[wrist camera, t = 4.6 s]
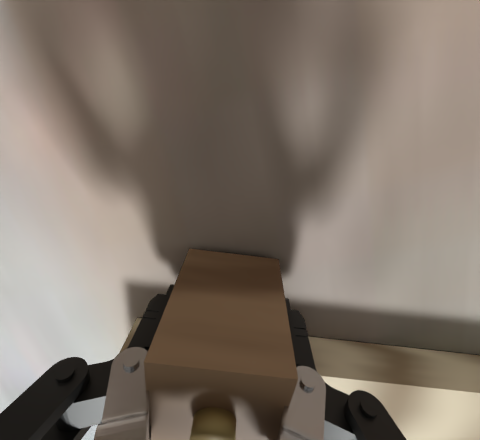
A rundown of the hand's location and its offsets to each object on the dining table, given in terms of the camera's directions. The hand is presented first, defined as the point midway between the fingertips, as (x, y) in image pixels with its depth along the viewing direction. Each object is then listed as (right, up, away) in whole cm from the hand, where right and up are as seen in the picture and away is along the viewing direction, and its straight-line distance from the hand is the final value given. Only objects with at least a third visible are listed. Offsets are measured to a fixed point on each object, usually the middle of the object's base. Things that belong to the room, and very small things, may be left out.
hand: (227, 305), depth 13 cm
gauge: (0, -3, +2) cm, 4 cm away
